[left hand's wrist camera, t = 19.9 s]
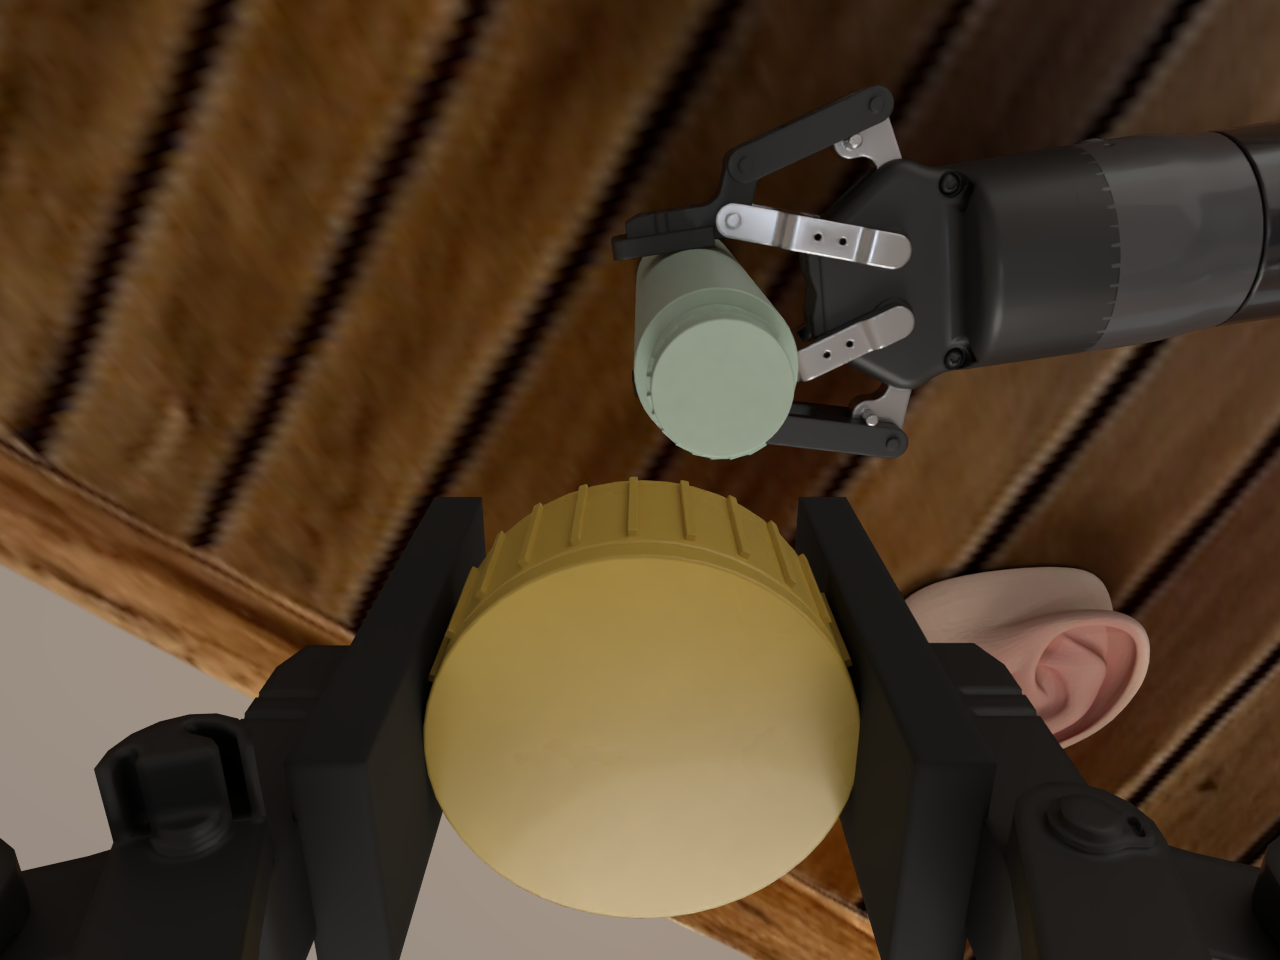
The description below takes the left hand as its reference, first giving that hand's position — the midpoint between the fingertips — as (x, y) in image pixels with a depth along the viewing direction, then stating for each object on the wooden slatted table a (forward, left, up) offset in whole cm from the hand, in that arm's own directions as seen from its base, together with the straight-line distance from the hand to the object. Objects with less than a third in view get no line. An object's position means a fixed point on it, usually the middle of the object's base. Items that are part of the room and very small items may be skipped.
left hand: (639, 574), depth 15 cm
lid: (0, 0, +4) cm, 4 cm away
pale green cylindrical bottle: (-2, +2, -27) cm, 28 cm away
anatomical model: (+8, +25, -27) cm, 38 cm away
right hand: (0, -1, -21) cm, 21 cm away
